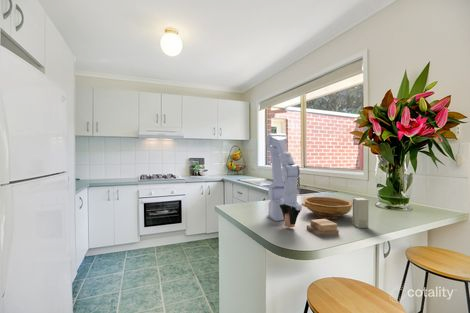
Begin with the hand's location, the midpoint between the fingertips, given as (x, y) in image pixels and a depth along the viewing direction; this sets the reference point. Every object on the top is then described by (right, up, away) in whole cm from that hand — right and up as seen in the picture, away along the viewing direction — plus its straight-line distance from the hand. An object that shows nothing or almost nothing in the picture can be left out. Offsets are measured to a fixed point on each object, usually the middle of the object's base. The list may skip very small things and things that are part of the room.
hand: (289, 222), depth 98 cm
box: (+34, -3, +4) cm, 34 cm away
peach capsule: (0, -1, 0) cm, 1 cm away
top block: (+13, -1, -4) cm, 14 cm away
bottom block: (+13, -4, -4) cm, 14 cm away
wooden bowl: (+26, -3, +21) cm, 33 cm away
